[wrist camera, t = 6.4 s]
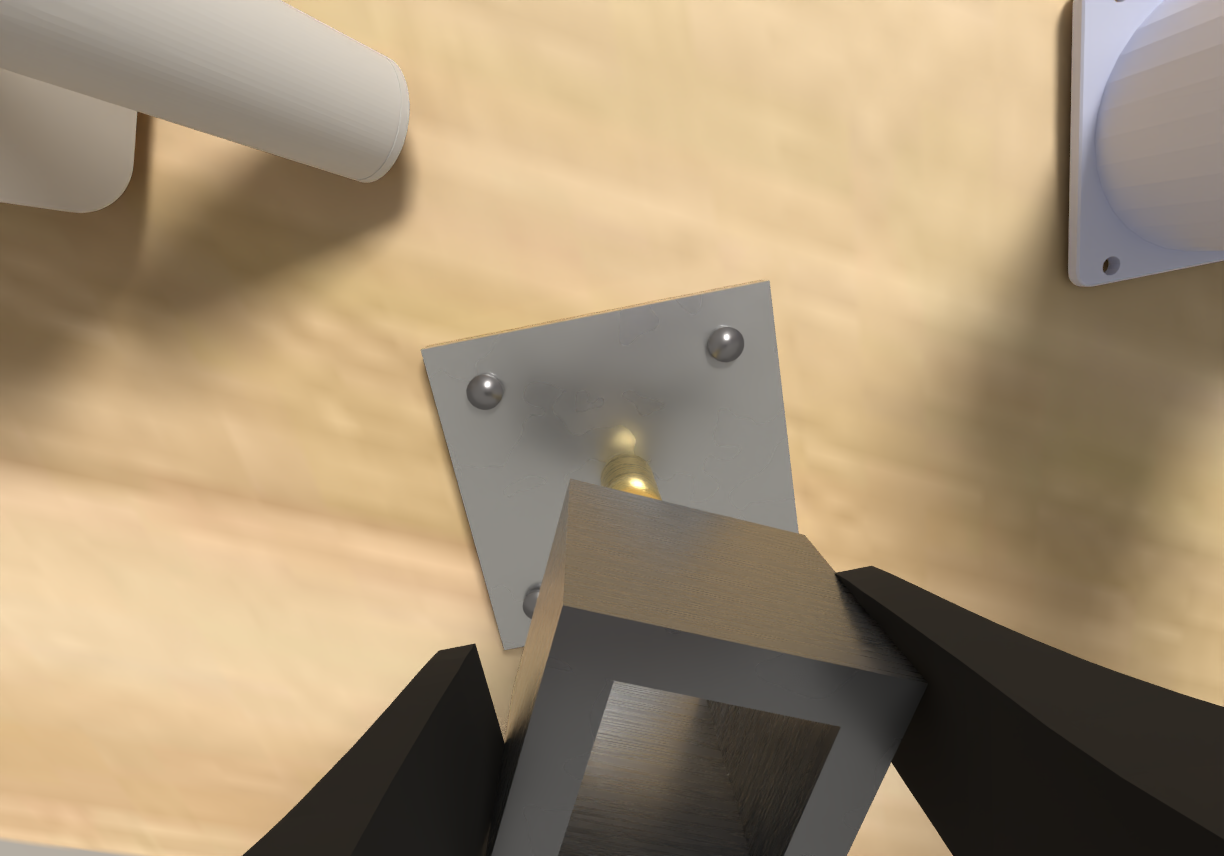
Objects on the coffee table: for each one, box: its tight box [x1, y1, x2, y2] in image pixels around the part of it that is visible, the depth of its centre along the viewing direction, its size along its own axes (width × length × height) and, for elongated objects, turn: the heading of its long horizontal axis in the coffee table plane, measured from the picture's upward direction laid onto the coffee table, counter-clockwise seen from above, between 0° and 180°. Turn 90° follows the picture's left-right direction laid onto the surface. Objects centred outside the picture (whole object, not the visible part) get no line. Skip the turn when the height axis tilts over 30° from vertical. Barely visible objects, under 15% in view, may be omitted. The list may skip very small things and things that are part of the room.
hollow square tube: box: [486, 479, 928, 856], centre depth 9 cm, size 4×4×4 cm
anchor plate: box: [421, 280, 799, 650], centre depth 16 cm, size 10×10×5 cm
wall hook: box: [0, 0, 410, 213], centre depth 11 cm, size 8×10×10 cm
